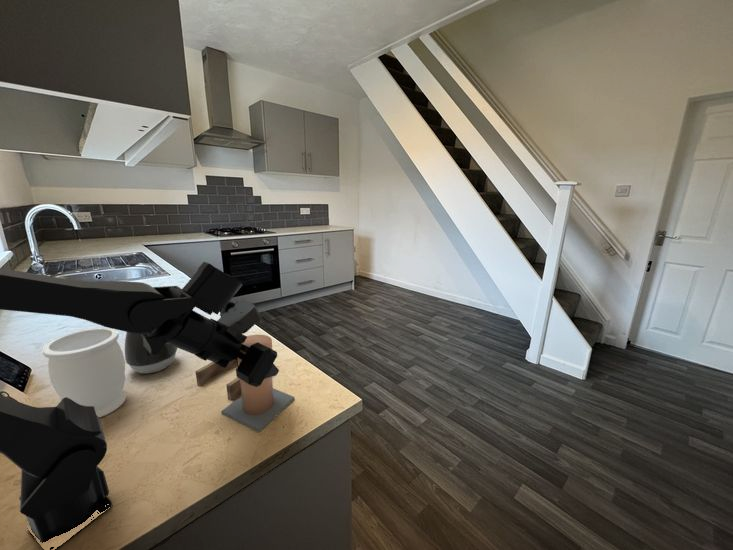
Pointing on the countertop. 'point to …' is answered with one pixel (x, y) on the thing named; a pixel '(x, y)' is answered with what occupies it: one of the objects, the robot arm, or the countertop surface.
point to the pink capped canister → (261, 396)
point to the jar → (88, 368)
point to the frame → (213, 371)
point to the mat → (261, 419)
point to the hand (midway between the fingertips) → (262, 364)
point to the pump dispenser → (146, 355)
